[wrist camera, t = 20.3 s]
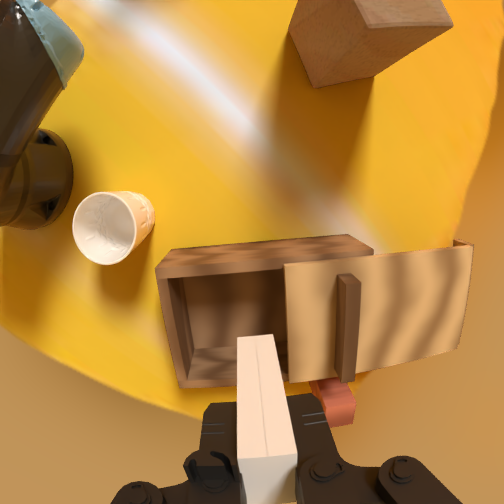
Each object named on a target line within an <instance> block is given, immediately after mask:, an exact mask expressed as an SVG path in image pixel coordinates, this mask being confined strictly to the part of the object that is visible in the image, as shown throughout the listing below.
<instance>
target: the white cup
mask: <svg viewBox="0 0 504 504" xmlns="http://www.w3.org/2000/svg"><path fill="white" fill-rule="evenodd" d="M154 223H155V211H154V209H153V207H152V204H151V202H150V201H149V200H148V199H147V198H146V197H145V196H143V195H142V194H140V193H135V192H127V191H112V192H97V193H94V194H91V195H89V196H88V197H86V198H85V199H84V200H83V201H82V202H81V203H80V204H79V206H78V207H77V209H76V211H75V214H74V217H73V224H72V229H73V236H74V239H75V242H76V244H77V246H78V248H79V250H80V251H81V252H82V254H83V255H84V256H85V257H87V258H88V259H89V260H91V261H93V262H95V263H97V264H101V265H112V264H116V263H118V262H120V261H122V260H123V259H124V258H126V257H127V256H128V255H129V254H130V253H131V252H132V251H133V250H134V249H135V248H136V247H137V246H138V245H139V244H140V243H141V242H142V241H143V240H144V239H145V237H146V236H147V235H148V234H149V233H150V232H151V230H152V228H153V225H154Z"/></svg>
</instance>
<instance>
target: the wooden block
mask: <svg viewBox="0 0 504 504" xmlns="http://www.w3.org/2000/svg"><path fill="white" fill-rule="evenodd" d="M452 27H453V22H452V20H451V18H450V16H449V14H448V12H447V10H446V8H445V6H444V5H443V3H442V1H441V0H298V2H297V5H296V8H295V10H294V13H293V16H292V19H291V21H290V24H289V27H288V31H289V33H290V35H291V38H292V40H293V42H294V44H295V46H296V49H297V51H298V53H299V56H300V58H301V60H302V63H303V65H304V68H305V70H306V72H307V75H308V77H309V80H310V82H311V85H312V86H313V88H320V87H324V86H328V85H333V84H338V83H342V82H347V81H352V80H357V79H362V78H368V77H374V76H376V75H377V74H379V73H380V72H382V71H383V70H385V69H386V68H388V67H389V66H391V65H392V64H394V63H395V62H397V61H398V60H400V59H402V58H403V57H405V56H406V55H408V54H409V53H411V52H413V51H414V50H416V49H417V48H419V47H421V46H422V45H424V44H426V43H427V42H429V41H431V40H432V39H434V38H436V37H437V36H439V35H441V34H442V33H444V32H446V31H447V30H449V29H451V28H452Z"/></svg>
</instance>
